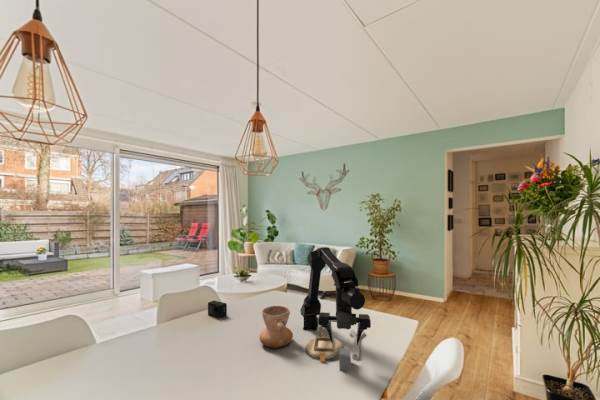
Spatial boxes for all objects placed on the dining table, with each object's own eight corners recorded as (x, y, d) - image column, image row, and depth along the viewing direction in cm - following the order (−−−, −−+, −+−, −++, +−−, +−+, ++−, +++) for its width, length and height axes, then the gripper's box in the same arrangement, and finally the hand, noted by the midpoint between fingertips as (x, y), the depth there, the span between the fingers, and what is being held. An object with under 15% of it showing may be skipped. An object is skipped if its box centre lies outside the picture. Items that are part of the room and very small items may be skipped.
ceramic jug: (297, 349, 113) (297, 314, 114) (262, 355, 109) (262, 318, 110) (287, 332, 130) (286, 301, 131) (256, 336, 126) (256, 305, 127)
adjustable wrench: (359, 362, 104) (359, 357, 104) (342, 359, 106) (342, 354, 106) (365, 333, 127) (364, 329, 128) (351, 331, 130) (351, 328, 130)
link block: (339, 370, 98) (339, 356, 98) (340, 361, 104) (339, 348, 104) (350, 371, 97) (350, 357, 97) (350, 362, 103) (350, 348, 103)
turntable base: (301, 360, 104) (301, 355, 104) (307, 339, 121) (307, 335, 121) (343, 363, 102) (343, 358, 102) (344, 342, 119) (344, 337, 119)
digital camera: (205, 315, 152) (205, 303, 153) (213, 312, 157) (213, 300, 157) (219, 319, 147) (219, 305, 147) (226, 315, 152) (226, 303, 152)
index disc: (304, 357, 106) (303, 340, 106) (308, 339, 120) (307, 324, 121) (343, 359, 104) (342, 342, 104) (342, 341, 118) (342, 325, 119)
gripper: (316, 307, 95) (317, 352, 94) (371, 309, 92) (372, 356, 91) (319, 296, 106) (320, 337, 105) (368, 298, 103) (369, 341, 102)
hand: (344, 343), depth 101 cm, fingers open, 9 cm apart
